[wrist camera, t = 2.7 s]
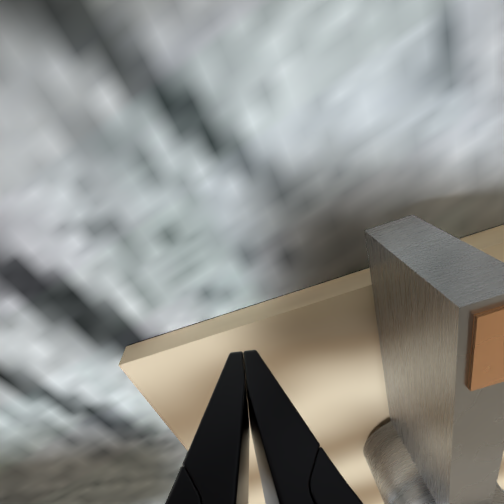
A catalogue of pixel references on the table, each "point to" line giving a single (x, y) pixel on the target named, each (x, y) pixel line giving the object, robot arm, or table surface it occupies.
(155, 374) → the base plate
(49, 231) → the table surface
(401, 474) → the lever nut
